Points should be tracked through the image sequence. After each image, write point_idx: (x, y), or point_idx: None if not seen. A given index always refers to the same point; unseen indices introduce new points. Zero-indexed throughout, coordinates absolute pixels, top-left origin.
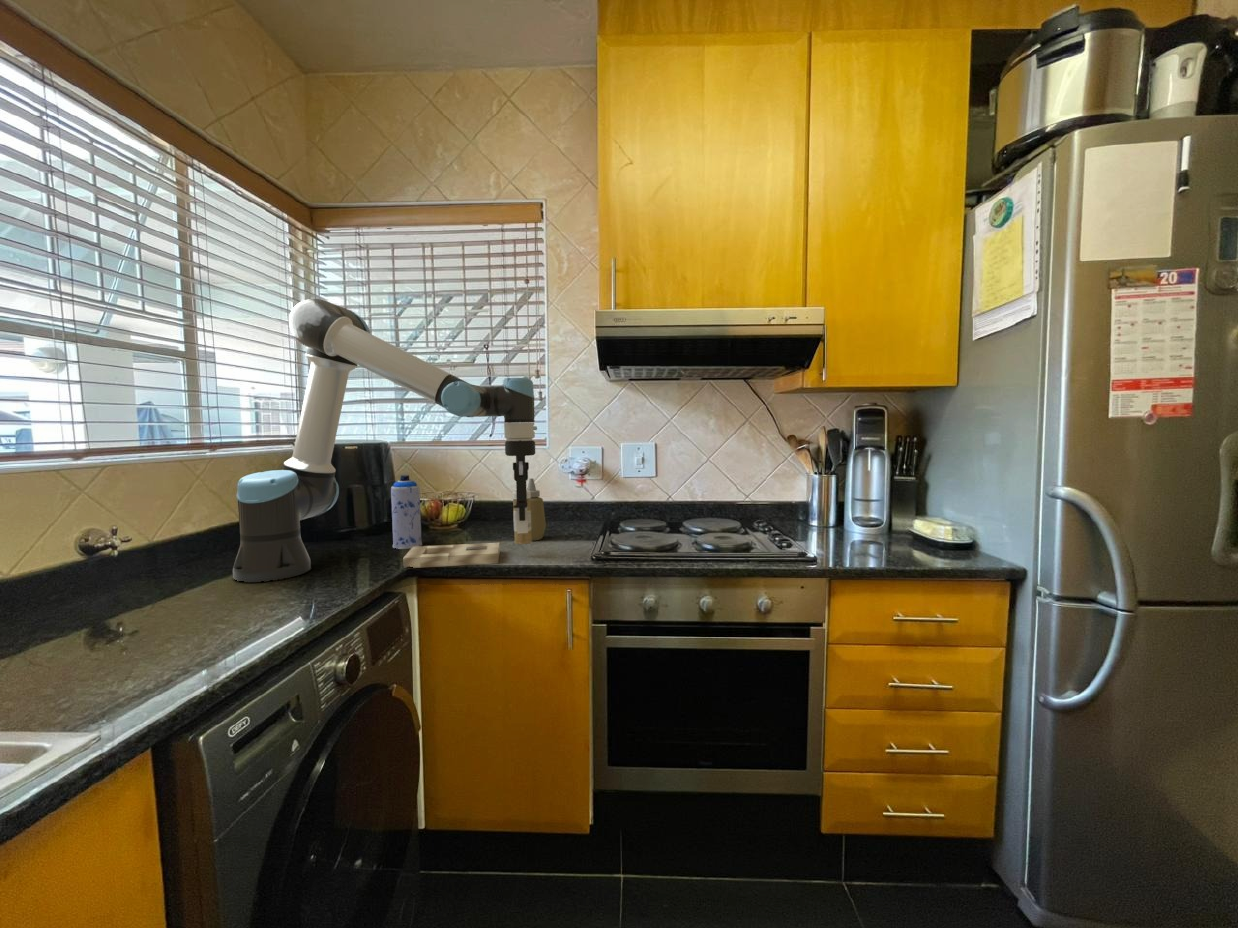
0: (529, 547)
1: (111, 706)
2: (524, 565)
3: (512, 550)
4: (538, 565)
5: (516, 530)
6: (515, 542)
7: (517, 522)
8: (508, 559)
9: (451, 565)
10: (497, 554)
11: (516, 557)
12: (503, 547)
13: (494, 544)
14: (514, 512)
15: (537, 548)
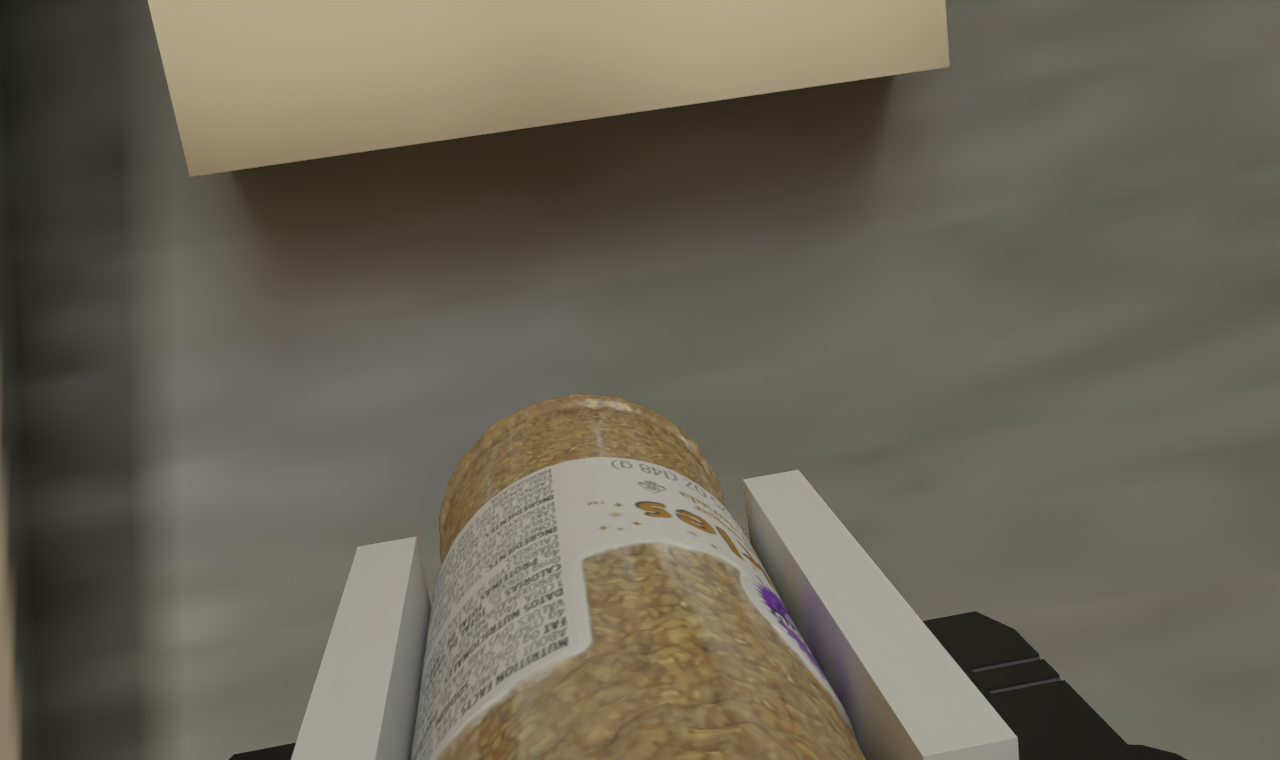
0: (1085, 446)
1: None
2: (126, 538)
3: (951, 242)
4: (132, 704)
5: (463, 532)
6: (487, 431)
7: (328, 664)
8: (445, 275)
9: None
10: (192, 170)
11: (550, 365)
12: (1151, 77)
13: (815, 3)
14: (491, 679)
15: (1012, 557)
